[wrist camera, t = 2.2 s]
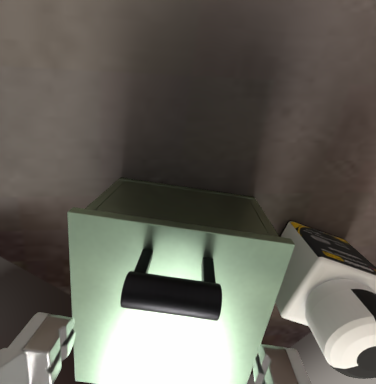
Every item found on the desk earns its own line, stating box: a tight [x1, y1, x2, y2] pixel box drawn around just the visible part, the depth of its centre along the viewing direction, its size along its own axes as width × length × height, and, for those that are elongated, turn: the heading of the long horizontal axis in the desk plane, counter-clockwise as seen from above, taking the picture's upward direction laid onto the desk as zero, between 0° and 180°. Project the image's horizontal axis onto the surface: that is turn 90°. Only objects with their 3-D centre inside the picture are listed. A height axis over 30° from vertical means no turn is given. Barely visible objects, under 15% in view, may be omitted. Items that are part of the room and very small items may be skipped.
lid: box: [67, 207, 295, 384], centre depth 16 cm, size 16×15×5 cm
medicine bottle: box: [276, 221, 376, 379], centre depth 21 cm, size 7×7×12 cm
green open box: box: [85, 177, 279, 237], centre depth 23 cm, size 16×15×10 cm
